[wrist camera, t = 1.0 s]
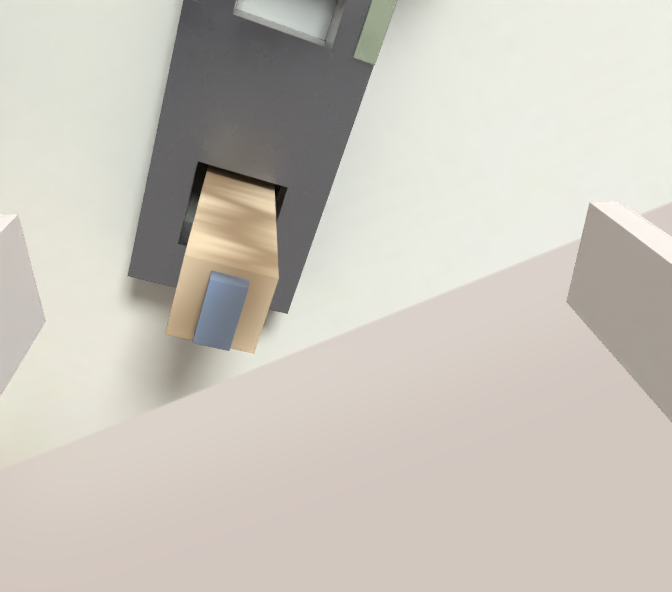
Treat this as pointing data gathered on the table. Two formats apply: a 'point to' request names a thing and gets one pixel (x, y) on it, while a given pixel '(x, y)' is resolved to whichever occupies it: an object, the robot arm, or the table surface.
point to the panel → (255, 123)
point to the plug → (228, 264)
